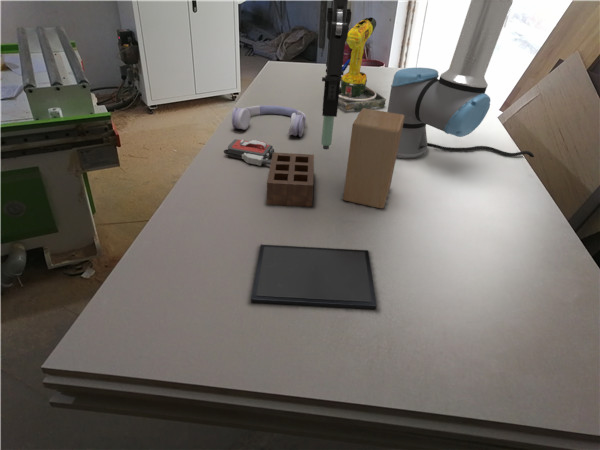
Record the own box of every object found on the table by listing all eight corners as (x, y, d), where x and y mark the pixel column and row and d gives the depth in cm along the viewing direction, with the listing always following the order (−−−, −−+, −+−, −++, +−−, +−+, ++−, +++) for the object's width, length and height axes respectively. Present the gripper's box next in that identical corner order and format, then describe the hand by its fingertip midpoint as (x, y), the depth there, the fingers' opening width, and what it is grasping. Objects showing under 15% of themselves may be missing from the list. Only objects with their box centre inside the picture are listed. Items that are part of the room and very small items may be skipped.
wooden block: (389, 189, 104) (405, 114, 92) (383, 209, 96) (399, 130, 84) (351, 181, 106) (362, 107, 94) (342, 200, 98) (352, 122, 86)
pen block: (312, 174, 108) (313, 154, 104) (311, 206, 96) (313, 185, 92) (272, 172, 108) (272, 152, 104) (267, 204, 96) (266, 182, 92)
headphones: (300, 141, 123) (311, 120, 140) (301, 118, 119) (313, 100, 136) (230, 132, 126) (249, 113, 143) (229, 110, 123) (249, 93, 139)
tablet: (367, 253, 83) (368, 249, 82) (375, 309, 71) (376, 305, 70) (260, 247, 83) (260, 243, 82) (251, 302, 71) (251, 298, 70)
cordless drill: (389, 106, 150) (403, 24, 133) (344, 112, 143) (353, 27, 127) (363, 91, 163) (373, 15, 147) (321, 96, 157) (327, 17, 140)
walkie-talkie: (220, 159, 112) (288, 172, 108) (219, 145, 110) (289, 157, 106) (233, 146, 119) (298, 158, 115) (232, 132, 117) (298, 143, 112)
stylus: (330, 146, 83) (339, 59, 73) (330, 150, 81) (339, 62, 71) (321, 145, 83) (328, 59, 73) (320, 150, 81) (328, 62, 71)
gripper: (320, -37, 70) (311, 98, 84) (318, -29, 57) (308, 127, 72) (363, -35, 69) (347, 100, 83) (371, -26, 57) (350, 130, 71)
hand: (329, 112), depth 77 cm, fingers closed on stylus, 2 cm apart
